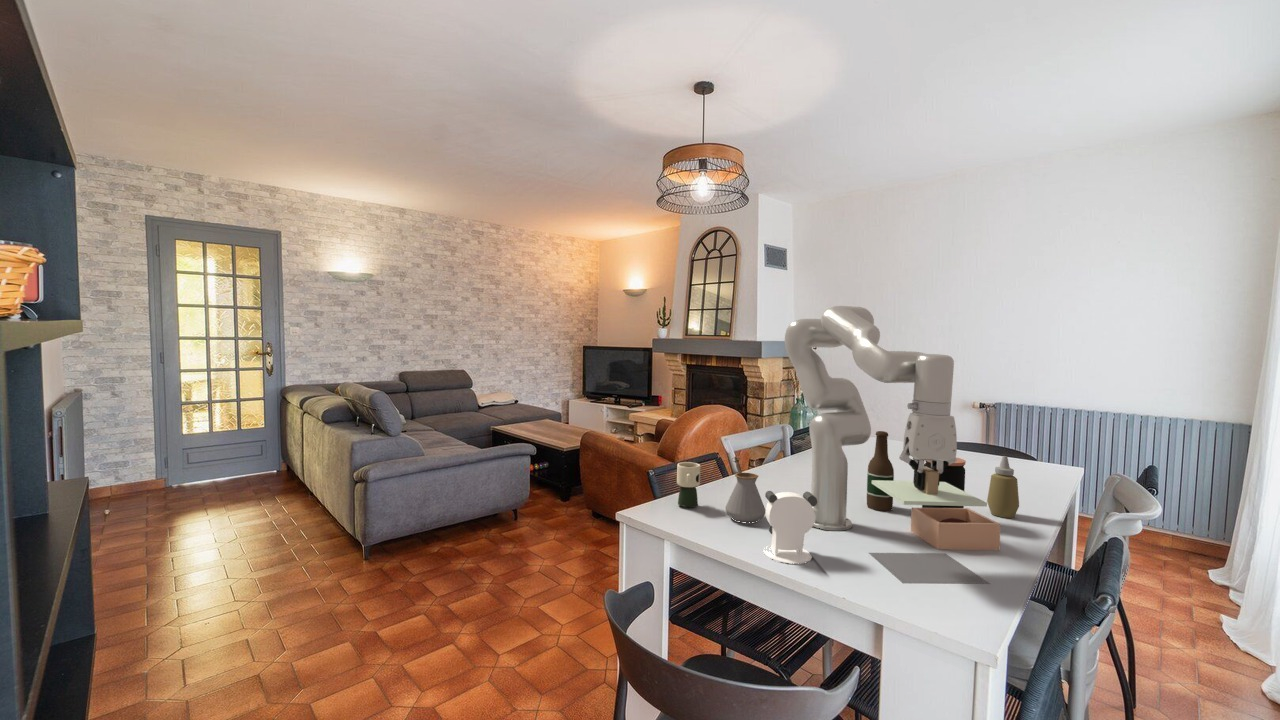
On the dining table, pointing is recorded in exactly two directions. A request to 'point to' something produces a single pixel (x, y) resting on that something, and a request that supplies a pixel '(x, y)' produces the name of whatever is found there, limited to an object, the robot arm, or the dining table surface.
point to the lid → (928, 492)
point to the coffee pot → (745, 498)
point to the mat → (927, 568)
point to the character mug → (688, 483)
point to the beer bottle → (879, 475)
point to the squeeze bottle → (1003, 491)
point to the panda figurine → (789, 525)
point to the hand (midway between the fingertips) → (925, 488)
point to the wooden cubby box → (955, 529)
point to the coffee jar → (951, 478)
